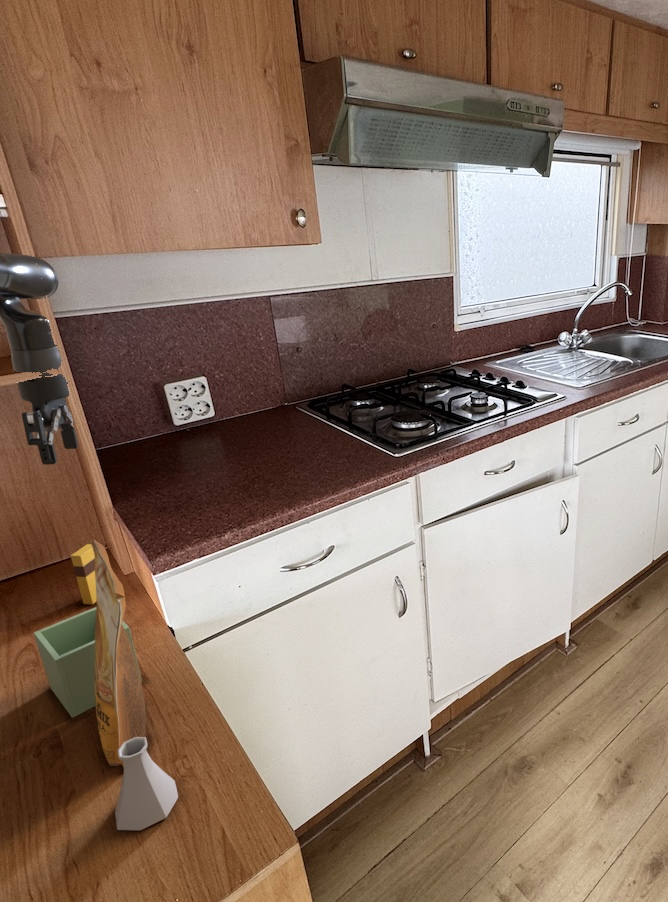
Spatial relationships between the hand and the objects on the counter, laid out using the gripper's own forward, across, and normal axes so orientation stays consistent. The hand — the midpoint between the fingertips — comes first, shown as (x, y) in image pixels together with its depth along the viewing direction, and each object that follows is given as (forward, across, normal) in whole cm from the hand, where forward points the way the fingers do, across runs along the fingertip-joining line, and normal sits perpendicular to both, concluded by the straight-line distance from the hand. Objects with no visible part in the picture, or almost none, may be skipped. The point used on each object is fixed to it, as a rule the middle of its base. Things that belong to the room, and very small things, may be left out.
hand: (61, 455), depth 110 cm
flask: (+30, +55, +27) cm, 68 cm away
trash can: (+30, +30, +12) cm, 44 cm away
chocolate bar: (+29, +3, +2) cm, 30 cm away
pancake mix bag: (+30, +41, +21) cm, 55 cm away
